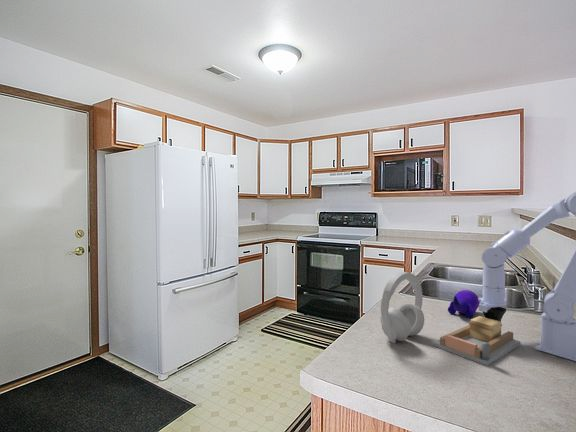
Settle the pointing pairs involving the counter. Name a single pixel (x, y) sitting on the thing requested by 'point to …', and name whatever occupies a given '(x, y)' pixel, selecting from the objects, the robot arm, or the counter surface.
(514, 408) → the counter surface
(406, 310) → the headphones
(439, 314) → the counter surface
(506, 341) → the bay
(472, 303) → the toy
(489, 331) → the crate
